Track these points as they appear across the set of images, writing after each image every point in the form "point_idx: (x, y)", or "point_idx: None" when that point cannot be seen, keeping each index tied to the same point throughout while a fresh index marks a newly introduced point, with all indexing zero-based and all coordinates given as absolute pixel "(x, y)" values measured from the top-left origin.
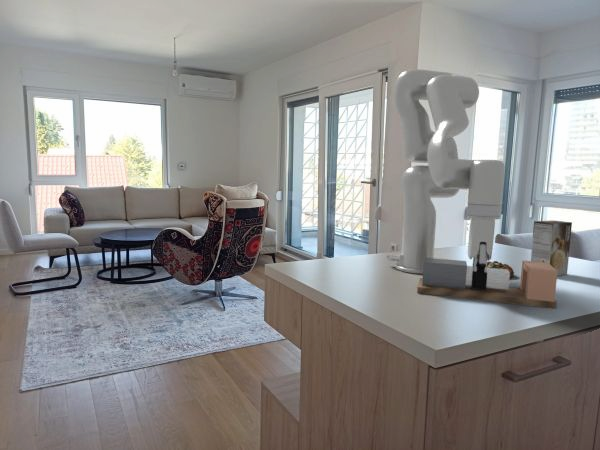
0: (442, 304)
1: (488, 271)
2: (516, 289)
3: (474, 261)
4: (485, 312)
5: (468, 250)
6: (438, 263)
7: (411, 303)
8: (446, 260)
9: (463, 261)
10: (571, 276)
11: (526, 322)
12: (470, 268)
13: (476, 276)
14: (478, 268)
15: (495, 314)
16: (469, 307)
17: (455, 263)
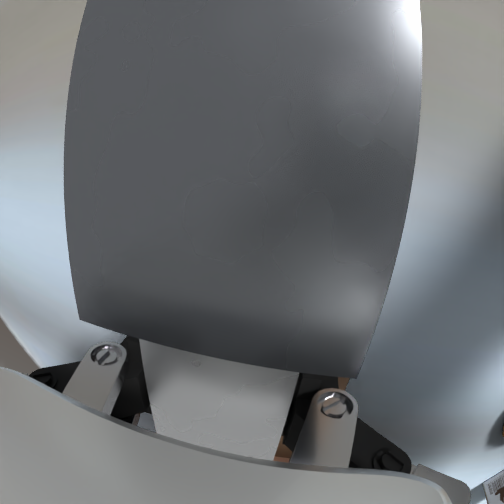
0: (47, 125)
1: (157, 427)
2: (284, 449)
3: (300, 439)
4: (34, 266)
5: (74, 482)
6: (85, 18)
7: (42, 29)
8: (319, 94)
9: (320, 348)
10: (475, 500)
11: (29, 340)
12: (176, 350)
13: (126, 339)
14: (60, 371)
15: (35, 290)
16: (50, 224)
17: (128, 213)
